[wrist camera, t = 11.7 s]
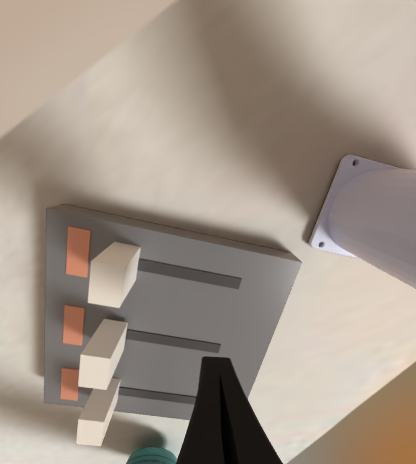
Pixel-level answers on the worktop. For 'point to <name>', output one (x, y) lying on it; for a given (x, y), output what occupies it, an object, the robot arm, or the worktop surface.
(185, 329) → the switch panel
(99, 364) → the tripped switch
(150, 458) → the beverage bottle
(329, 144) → the worktop surface
